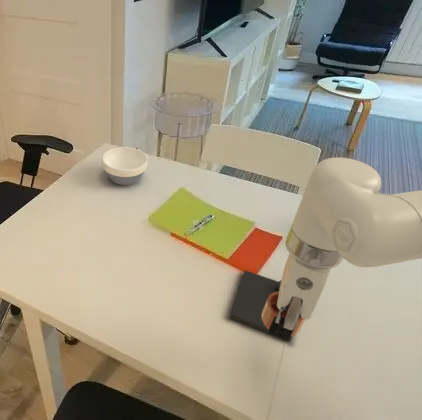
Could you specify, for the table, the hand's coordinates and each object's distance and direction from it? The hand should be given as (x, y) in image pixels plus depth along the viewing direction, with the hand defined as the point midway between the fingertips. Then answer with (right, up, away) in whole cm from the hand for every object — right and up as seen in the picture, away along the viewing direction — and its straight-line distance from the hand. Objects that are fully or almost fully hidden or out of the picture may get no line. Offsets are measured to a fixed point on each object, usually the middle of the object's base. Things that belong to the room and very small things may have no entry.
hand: (281, 319), depth 63 cm
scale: (+5, -2, +18) cm, 19 cm away
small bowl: (0, -1, +1) cm, 1 cm away
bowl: (-24, +29, +58) cm, 69 cm away
